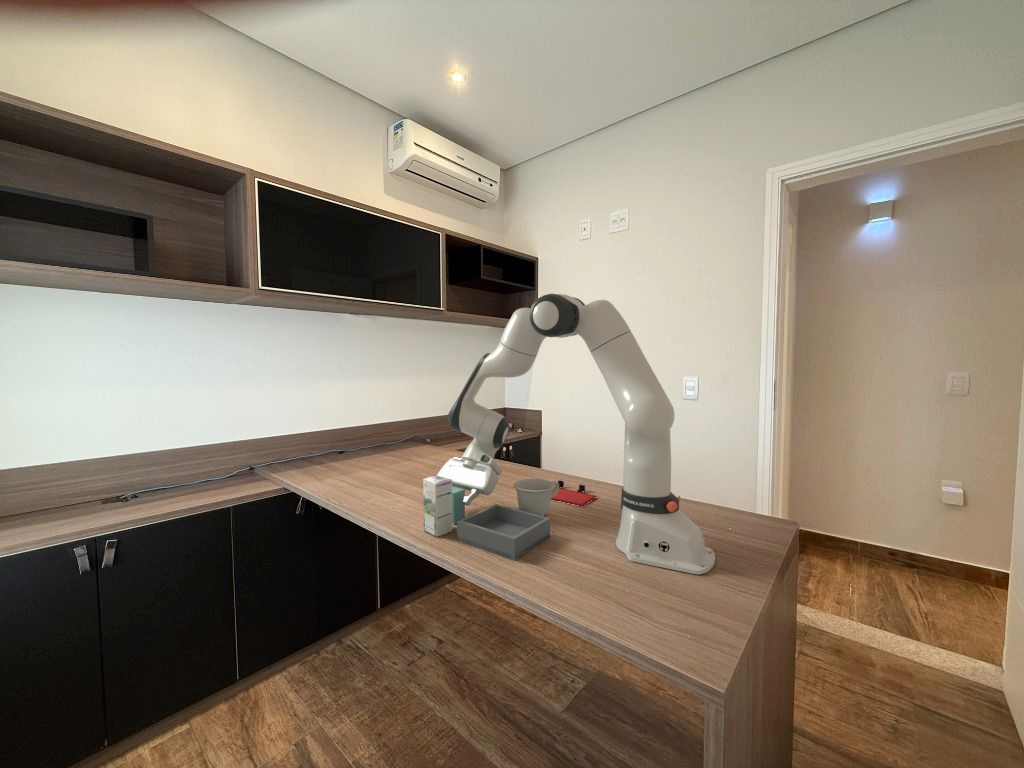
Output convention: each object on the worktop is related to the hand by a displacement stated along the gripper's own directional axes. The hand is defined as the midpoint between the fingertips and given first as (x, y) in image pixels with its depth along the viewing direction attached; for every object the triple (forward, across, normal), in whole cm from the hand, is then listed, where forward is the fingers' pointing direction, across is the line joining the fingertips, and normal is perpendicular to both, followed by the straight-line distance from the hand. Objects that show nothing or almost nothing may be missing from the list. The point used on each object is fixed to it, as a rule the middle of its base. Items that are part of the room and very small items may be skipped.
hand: (453, 500), depth 116 cm
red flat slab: (-24, +10, +32) cm, 41 cm away
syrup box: (+10, +2, -1) cm, 10 cm away
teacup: (-8, +18, +16) cm, 26 cm away
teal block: (+4, 0, +4) cm, 6 cm away
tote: (+5, +19, +3) cm, 20 cm away
